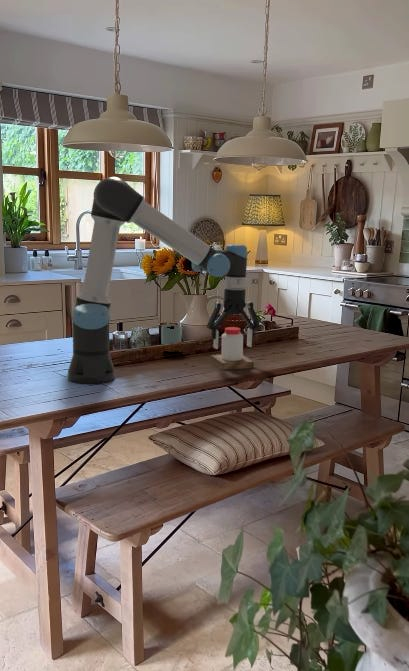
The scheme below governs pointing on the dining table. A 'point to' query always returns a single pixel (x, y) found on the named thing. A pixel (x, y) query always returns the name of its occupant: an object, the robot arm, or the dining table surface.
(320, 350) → the dining table surface
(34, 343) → the dining table surface
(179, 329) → the pale green box
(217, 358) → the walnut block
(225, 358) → the pill bottle
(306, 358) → the dining table surface
